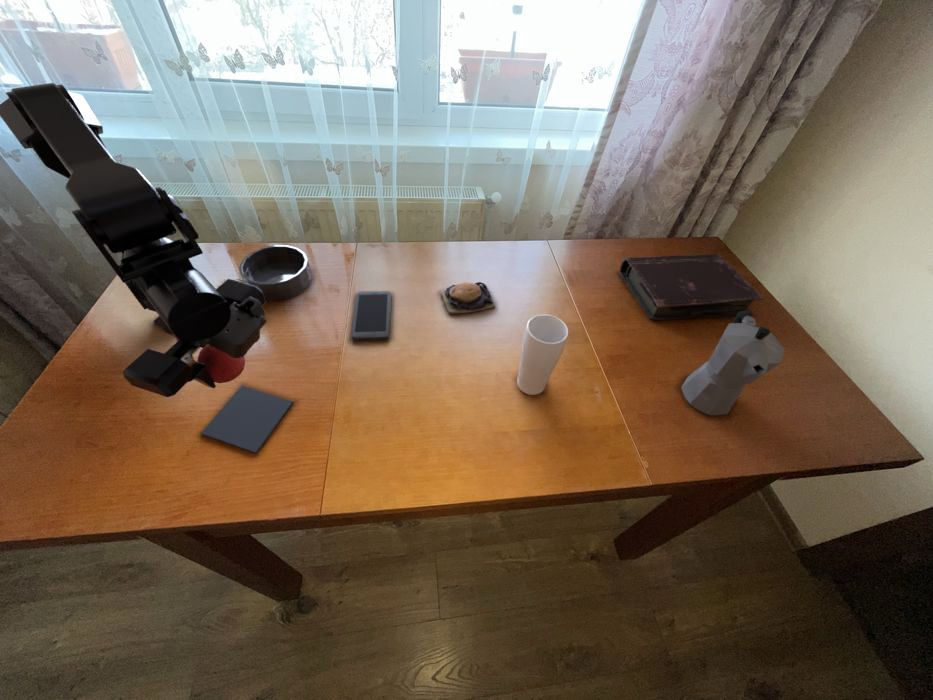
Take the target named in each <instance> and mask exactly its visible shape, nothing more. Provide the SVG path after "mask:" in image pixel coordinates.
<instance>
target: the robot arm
mask: <svg viewBox="0 0 933 700" xmlns="http://www.w3.org/2000/svg"><path fill="white" fill-rule="evenodd" d="M5 94H6V96H7V97H8V98H6V99H5V100H4V101H2V103H0V118H1V119H2V121H3V122H4V123H5V125H6V126H7V127H8V129H9V131H10V132H11V133H12V134H13V136H14V137H15V138H16V140H17V141H18V142H19V144H20V145H21V146H22V148H23V149H24V150H28V149H32V150H33V151H34V152H35V154H36V155H37V157H38V158H39V159H40V161H41V162H42V164H43V165H44V166H45V167H46V168H48V169H50V170H51V171H53V172H55V173H57V174H59V175H61V176H63V177H64V178H66V179H68V180H67V182H66V184H65V185H64V188H65V190H66V191H67V192H68V194H69V195H70V197H71V198H72V199H73V201H74V202H75V203H76V205H77V206H78V209H75V210H71V213H72V215H73V216H74V217H75V219H76V220H77V221H78V223H79V224H80V226H81V227H82V228H83V230H84V232H86V234H87V235H88V237H89V238H90V240H91V241H92V243H94V245H95V247H96V248H97V249H98V250H99V252H100V253H101V254H102V256H103V257H104V259H105V260H106V261H107V263H108V264H109V266H110V267H111V268H112V270H113V271H114V273H116V275H117V277H118V278H119V279H120V281H121V282H122V283H123V284H125V286H126V287H127V288H128V290H129V291H130V292H131V293H132V295H133V296H134V298H135V300H136V301H137V302H138V303H139V304H140V305H141V307H142V308H143V309H144V310H148V311H152V312H155V313H157V315H158V316H157V318H155V319H154V320H153V323H154V324H155V325H157V326H161V329H162V330H163V332H164V333H165V334H167V335H170V336H174V338H175V341H176V342H174V344H173V345H172V346H171V347H169V349H168V350H166V351H165V352H160V351H157V350H154V349H151V348H147V349H145V351H143V352H142V353H141V354H140V355H138V357H137V358H136V359H134V360H133V361H132V362H131V363H129V365H128V366H126V367H125V368H124V369H123V371H122V373H123V377H124V379H125V380H126V381H127V382H128V383H129V384H130V386H132V387H135V388H139V389H142V390H144V391H148V392H150V393H153V394H156V395H159V396H162V397H165V398H169V397H173V396H175V395H176V394H177V393H179V391H180V390H181V389H182V388H183V387H184V386H185V385H186V384H187V383H190V382H193V381H196V382H197V383H199V384H202V385H204V386H206V387H208V388H211V389H215V388H216V387H217V386H216V382H214V381H213V380H212V379H211V377H210V376H209V375H208V373H207V372H206V371H205V370H204V368H205V367H206V366H207V365H206V364H203V363H199V362H197V360H195V358H194V356H193V355H194V354H195V353H197V351H199V349H203V348H204V347H205V346H206V345H207V344H209V345H210V346H212V347H214V348H216V349H218V350H220V351H222V352H224V353H226V354H228V355H229V356H231V357H233V358H241V357H243V356H244V357H245V356H246V354H247V353H248V352H249V350H250V349H251V348H252V347H253V346H254V345H255V344H256V343H258V342H259V340H260V338H261V329H262V328H263V327H264V326H265V325H266V324H267V323H268V320H267V318H265V317H266V311H265V309H264V307H263V306H264V305H265V304H266V303H267V300H265V297H264V295H263V292H262V290H261V289H259V288H258V287H257V286H254V285H250V284H247V283H244V281H239V280H236V279H231V278H227V279H226V280H225V281H224V282H222V283H221V284H220V285H219V286H218V287H217V288H215V286H213V284H212V283H211V282H210V281H209V280H208V279H207V278H206V276H205V275H204V274H203V273H202V272H201V271H199V269H197V268H195V267H194V265H193V264H192V262H191V260H190V259H192V258H194V257H198V256H199V255H202V254H204V252H203V250H202V248H201V246H200V245H199V243H198V242H197V241H196V240H198V239H200V238H199V234H198V232H197V231H196V229H195V227H194V226H193V225H192V223H191V222H190V220H189V218H188V216H187V215H186V214H185V212H184V210H183V209H182V208H181V206H180V205H179V204H178V202H177V201H176V199H175V198H174V196H172V195H170V194H168V193H167V191H166V190H165V189H162V187H160V186H157V187H154V186H153V185H152V184H151V182H150V181H149V180H148V179H147V178H146V177H145V175H144V174H143V173H142V172H141V171H140V170H139V169H138V168H135V167H134V166H129V165H126V164H123V163H118V162H117V161H116V160H115V159H114V157H113V156H112V154H111V153H110V151H108V149H107V147H106V145H105V143H104V142H103V140H102V138H101V136H100V135H102V134H104V127H103V125H102V124H101V122H100V121H99V119H98V117H97V116H96V114H95V112H94V111H93V110H92V108H91V106H90V105H89V103H88V101H87V100H86V99H85V96H84V95H83V94H81V93H78V92H74V91H69V90H67V89H66V87H65V85H63V84H62V83H61V84H56V83H54V82H49V83H42V84H35V85H27V86H21V87H15V88H13V87H12V88H11V90H10V91H6V92H5ZM177 231H179V232H180V233H179V234H180V235H181V236H182V237H183V239H182V238H179V239H176V240H172V239H170V238H168V237H170V236H174V235H175V234H177ZM184 240H185V241H184ZM106 247H107V248H108V249H107V248H106ZM108 250H109V251H110V252H111V253H110V252H109V251H108ZM118 253H119V254H120V253H121V254H122V255H121V258H120V264H119V265H118V263H117V261H116V260H115V258H114V257H113V256H112V255H111V254H118Z"/></svg>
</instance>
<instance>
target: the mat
mask: <svg viewBox="0 0 933 700" xmlns="http://www.w3.org/2000/svg"><path fill="white" fill-rule="evenodd" d="M293 404H294V401H292V400H289V399H286V398H284V397H283V398H282V397H279V396H277V395H274V394H270V393H267V392H264V391H261V390H259V389H255V388H252V387H250V386H246V385H243V384H242V385H241V386H240V387H239V388H238V389H237V391H236V392H235V393H234V394H233V395H232V396H231V398H230V399H229V400H228V401H227V402H226V403H225V404H224V406H223V407H221V409H220V410H219V411H218V413H217V414H216V415H215V416H214V417H213V418H212V420H211V421H210V422H209V423H208V424H207V426H205V427H204V429H203V430H202V431H201V433H200V434H201V436H205V437H208V438H211V439H212V440H217V441H219V442H222V443H225V444H228V445H231V446H233V447H236V448H240V449H241V450H245V451H248V452H250V453H254V454H258V453H259V451H260V450H261V448H262V447H263V445H264V444H265V443H266V441H267V440H268V438H270V436H271V435H272V433H273V432H274V430H275V429H276V428H277V426H278V425H279V423H280V422H281V421H282V420H283V418H284V417H285V416H286V414H287V412H288V411H289V410H290V408H291V407H292V405H293Z"/></svg>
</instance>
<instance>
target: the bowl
mask: <svg viewBox="0 0 933 700" xmlns="http://www.w3.org/2000/svg"><path fill="white" fill-rule="evenodd" d="M238 270H239V275H240V277H241V279H242V282H243V283H247V284H250V285H254V286H257V287H258V288H259V289H261V290H262V292H263V295H264V297H265V300H266V301H271V302H272V301H281V300H282V301H283V300H287V299H291V298H293V297H295V296H298V295H300V293H303V292H304V291H305V290H306V289H307V288H308V287H309V286H310V285H311V282H312V278H313V272H312V269H311V266H310V262H309V259H308V257H307V255H306V252H304V251H303V250H301V249H300V248H298V247H295V246H292V245H288V244H274V245H268V246H264V247H260V248H259V249H256V250H254V251H252V252H250V253H249V254H247V255H246V256H245V257H243V259H242V260H241V262H240V264H239V266H238Z"/></svg>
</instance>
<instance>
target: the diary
mask: <svg viewBox="0 0 933 700" xmlns="http://www.w3.org/2000/svg"><path fill="white" fill-rule="evenodd" d="M618 273H619V275H620V276H621V278H622V279H623V281H624V282H625V284H626V285H627V287H628V289H629V290H630V291H631V294H632V295H633V296H634V298H635V299H636V301H637V303H638V304H639V306H640V307H641V309H642V310H643V311H644V313H645V314H646V315H647V317H648V318H649V319H650V320H653V321H657V320H659V321H660V320H661V321H664V320H681V319H689V318H690V319H691V318H701V317H704V318H707V317H708V318H710V317H711V318H713V317H714V318H724V317H733V316H734V317H736V315H737V314H738V313H739V312H741V311H746V310H749V309H748V308H749V307H750V305H751V304H752V303H753V302H754V301H763V297H762V296H761V295H760V293H758V292H757V290H756V289H754V287H753V286H752V285H751V283H749V282H748V280H746V279H745V278H744V276H743V275H742V274H741V273H740V272H739V271H737V269H736V268H735V267H733V265H732V264H730V263H729V262H728V261H727V260H726V259H725V258H724V257H723V256H722V255H721V254H720V253H710V254H709V253H708V254H695V255H693V254H692V255H687V254H686V255H661V256H649V257H648V256H646V257H645V256H644V257H643V256H641V257H640V256H637V257H636V256H635V257H634V256H633V257H631V256H629V257H627V256H626V257H624V258H623V260H622V262H621V264H620V267H619V271H618Z"/></svg>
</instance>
